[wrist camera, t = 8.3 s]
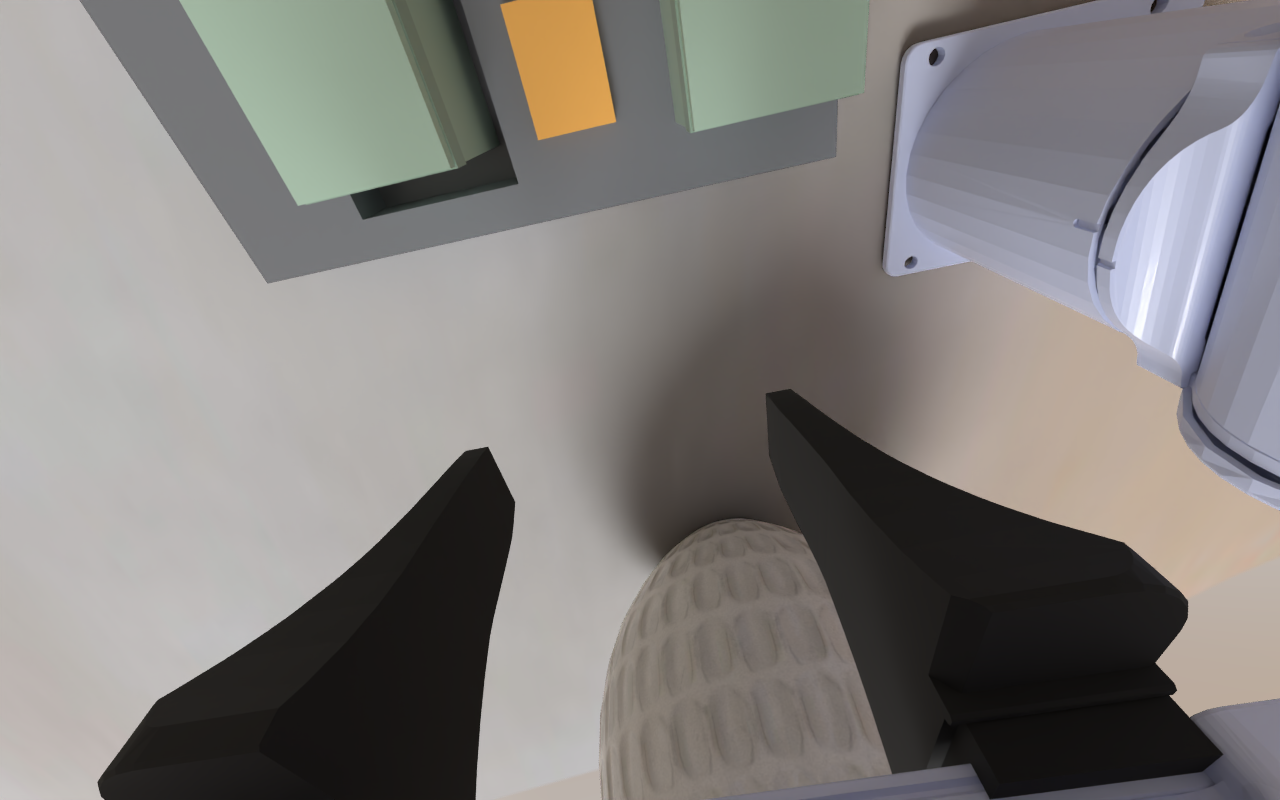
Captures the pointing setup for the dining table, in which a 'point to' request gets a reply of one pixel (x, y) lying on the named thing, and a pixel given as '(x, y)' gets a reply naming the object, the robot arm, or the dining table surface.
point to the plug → (350, 88)
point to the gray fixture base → (527, 117)
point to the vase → (734, 675)
